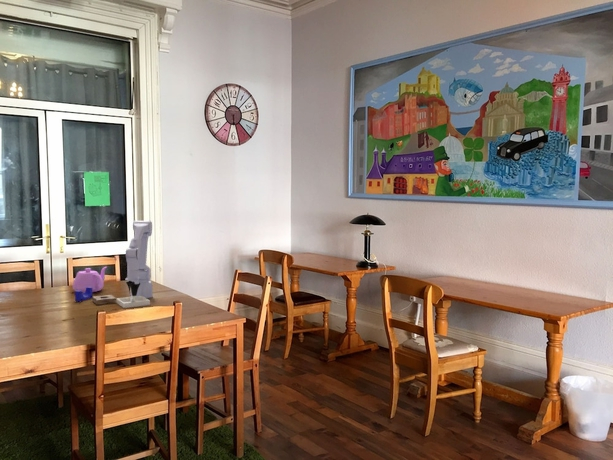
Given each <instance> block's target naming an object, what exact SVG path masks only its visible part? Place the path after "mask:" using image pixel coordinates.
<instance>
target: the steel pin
mask: <svg viewBox="0 0 613 460" xmlns="http://www.w3.org/2000/svg"><path fill="white" fill-rule="evenodd" d="M129 297H130V302H135V296H132V292H131V287H130V293H129Z"/></svg>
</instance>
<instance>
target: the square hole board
mask: <svg viewBox="0 0 613 460" xmlns="http://www.w3.org/2000/svg"><path fill="white" fill-rule="evenodd" d="M92 302H93V303H95V304H96V306H97V305H107V303H108V304H115V303H116V304H117V297H115V296H114V295H112V294H108V295H107V294H106V295H97V296H94V295H93V297H92Z"/></svg>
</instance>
